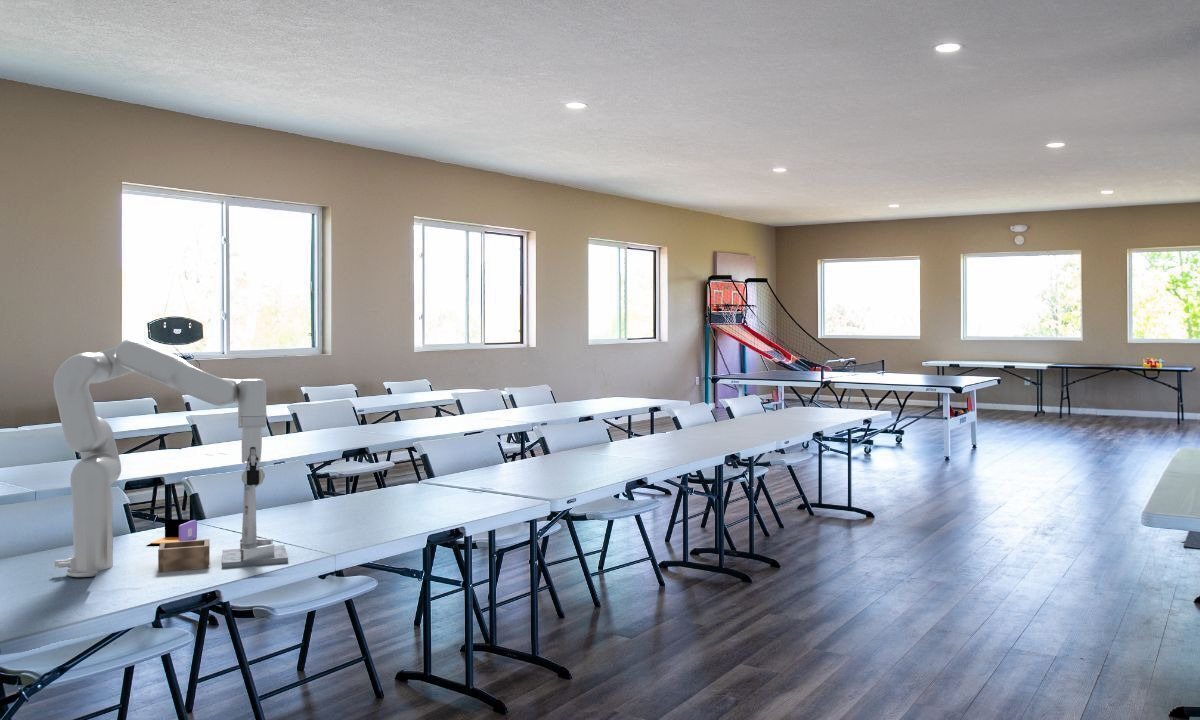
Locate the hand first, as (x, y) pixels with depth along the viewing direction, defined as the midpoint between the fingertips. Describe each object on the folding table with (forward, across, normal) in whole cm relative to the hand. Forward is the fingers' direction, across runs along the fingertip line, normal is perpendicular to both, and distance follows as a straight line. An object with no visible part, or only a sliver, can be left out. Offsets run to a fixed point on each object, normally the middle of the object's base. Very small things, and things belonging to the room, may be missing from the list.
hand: (252, 482), depth 257 cm
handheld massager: (+20, 0, 0) cm, 20 cm away
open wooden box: (+22, +2, -18) cm, 28 cm away
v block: (+22, 0, 0) cm, 22 cm away
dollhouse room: (+22, -34, -22) cm, 46 cm away
